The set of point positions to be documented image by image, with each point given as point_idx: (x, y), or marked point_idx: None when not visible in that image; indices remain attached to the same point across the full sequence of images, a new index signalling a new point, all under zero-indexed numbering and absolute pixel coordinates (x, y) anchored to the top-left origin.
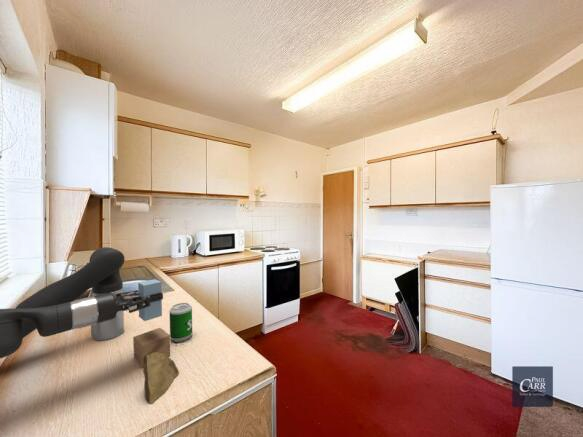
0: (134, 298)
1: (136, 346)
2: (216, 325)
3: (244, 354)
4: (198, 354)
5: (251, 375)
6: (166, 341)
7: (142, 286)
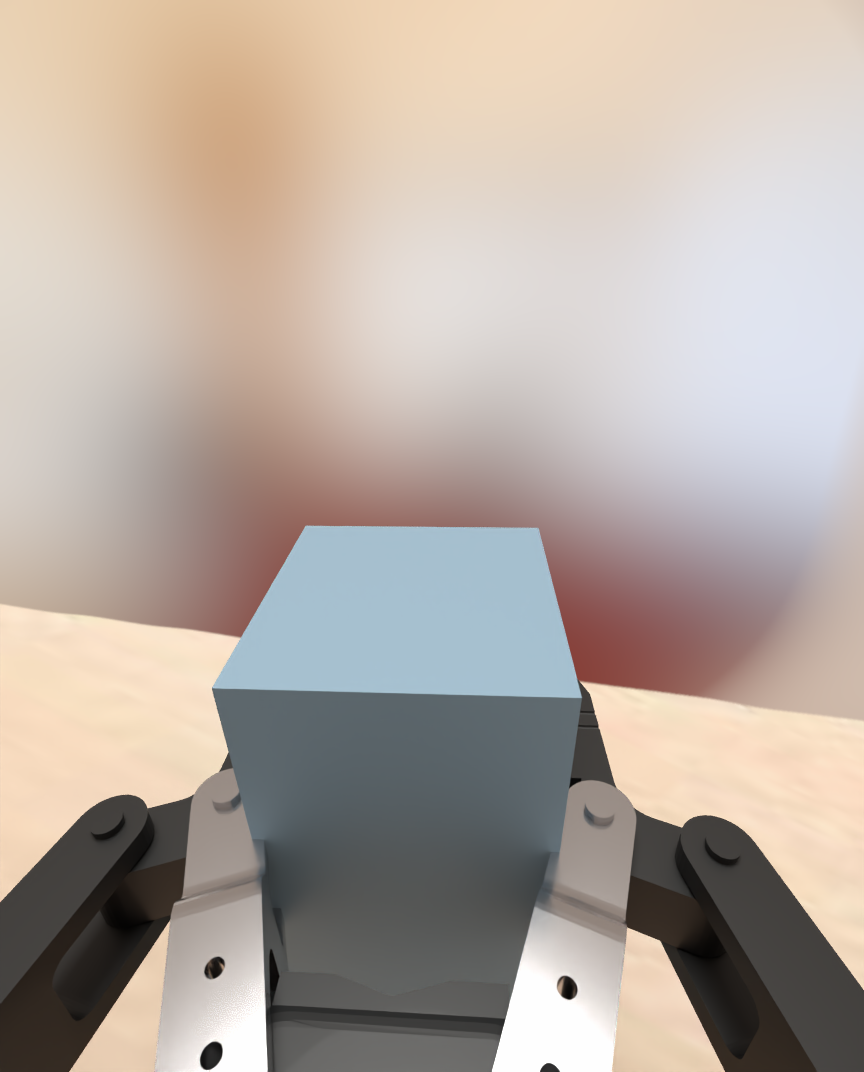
0: (604, 1063)
1: None
2: None
3: (771, 734)
4: None
5: None
6: None
7: (494, 722)
